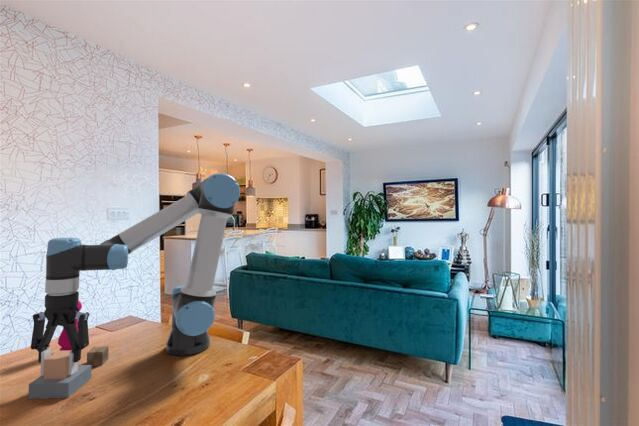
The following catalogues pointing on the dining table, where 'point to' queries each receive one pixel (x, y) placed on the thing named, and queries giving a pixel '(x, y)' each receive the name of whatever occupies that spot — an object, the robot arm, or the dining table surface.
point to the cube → (57, 365)
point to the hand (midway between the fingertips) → (59, 372)
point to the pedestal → (60, 384)
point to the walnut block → (97, 356)
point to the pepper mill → (63, 337)
